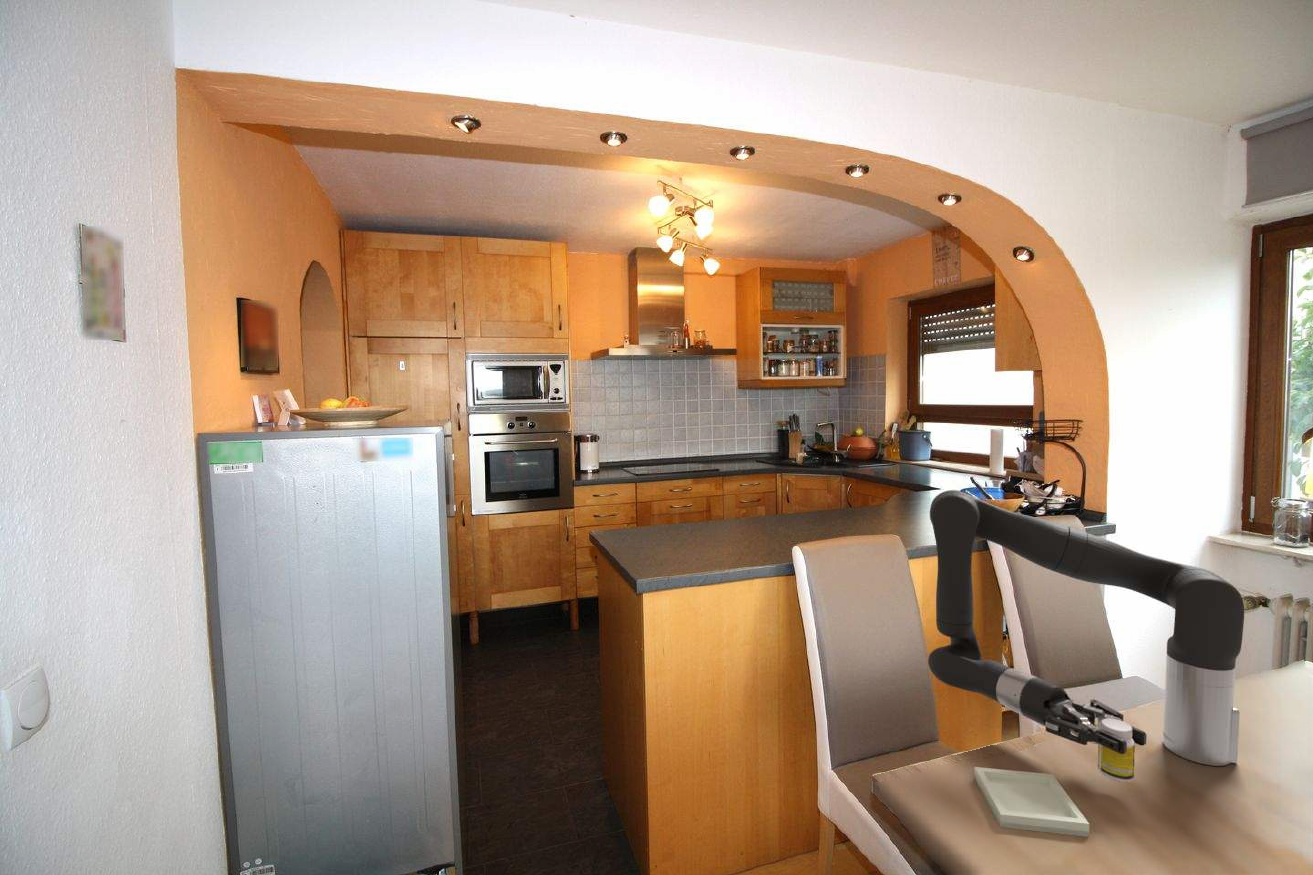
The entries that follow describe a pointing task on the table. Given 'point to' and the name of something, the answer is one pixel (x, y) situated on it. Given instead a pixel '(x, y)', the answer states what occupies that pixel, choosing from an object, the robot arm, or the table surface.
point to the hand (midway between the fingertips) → (1134, 743)
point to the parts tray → (1030, 802)
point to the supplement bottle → (1114, 762)
